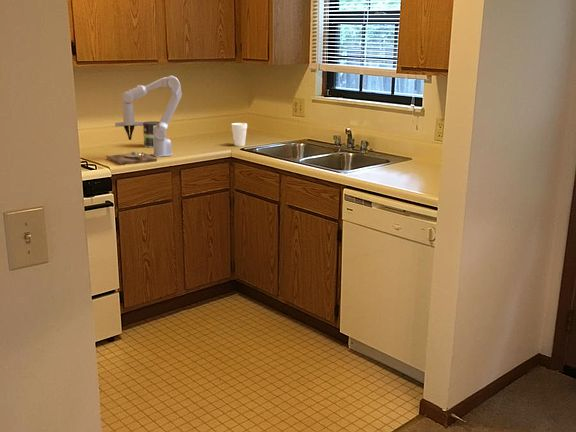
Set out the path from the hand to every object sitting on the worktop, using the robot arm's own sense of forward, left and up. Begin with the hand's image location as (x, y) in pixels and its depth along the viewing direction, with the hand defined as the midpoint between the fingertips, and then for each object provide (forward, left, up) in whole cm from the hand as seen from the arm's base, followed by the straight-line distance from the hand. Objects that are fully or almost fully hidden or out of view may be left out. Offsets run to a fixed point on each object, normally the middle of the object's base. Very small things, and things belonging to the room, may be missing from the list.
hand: (130, 139), depth 334 cm
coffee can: (-23, -25, -10) cm, 35 cm away
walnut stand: (+3, +9, -9) cm, 13 cm away
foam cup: (-69, -1, -10) cm, 70 cm away
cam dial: (+1, +10, -8) cm, 13 cm away
